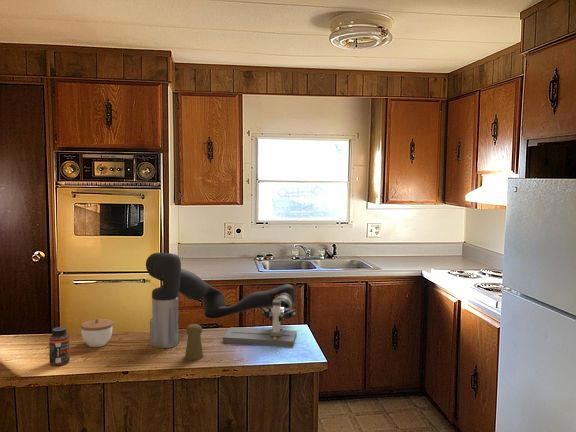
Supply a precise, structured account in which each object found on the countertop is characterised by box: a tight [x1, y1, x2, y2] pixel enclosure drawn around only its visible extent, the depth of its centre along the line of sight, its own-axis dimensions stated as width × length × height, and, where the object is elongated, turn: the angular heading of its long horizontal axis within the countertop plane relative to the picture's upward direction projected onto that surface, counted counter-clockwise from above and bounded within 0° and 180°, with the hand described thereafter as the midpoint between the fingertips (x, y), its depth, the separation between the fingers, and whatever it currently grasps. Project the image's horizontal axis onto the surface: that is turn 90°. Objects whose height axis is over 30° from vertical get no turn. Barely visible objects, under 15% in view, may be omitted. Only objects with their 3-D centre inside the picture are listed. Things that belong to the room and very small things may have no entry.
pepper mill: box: [184, 323, 204, 361], centre depth 161 cm, size 6×6×11 cm
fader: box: [270, 298, 284, 336], centre depth 179 cm, size 4×5×13 cm
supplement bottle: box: [48, 326, 71, 367], centre depth 154 cm, size 6×6×11 cm
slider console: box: [222, 326, 298, 348], centre depth 180 cm, size 26×12×2 cm, turn 83°
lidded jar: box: [80, 318, 114, 348], centre depth 172 cm, size 11×11×9 cm
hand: (275, 318), depth 176 cm, fingers closed on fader, 2 cm apart
